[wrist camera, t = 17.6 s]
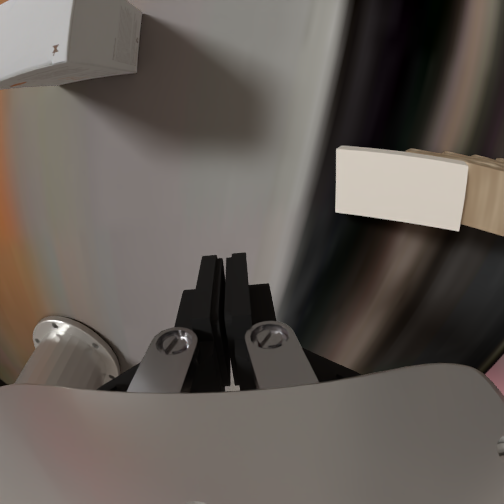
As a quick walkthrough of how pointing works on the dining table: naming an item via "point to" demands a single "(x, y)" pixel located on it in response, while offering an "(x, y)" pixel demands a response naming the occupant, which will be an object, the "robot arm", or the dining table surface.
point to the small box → (66, 41)
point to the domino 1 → (400, 186)
